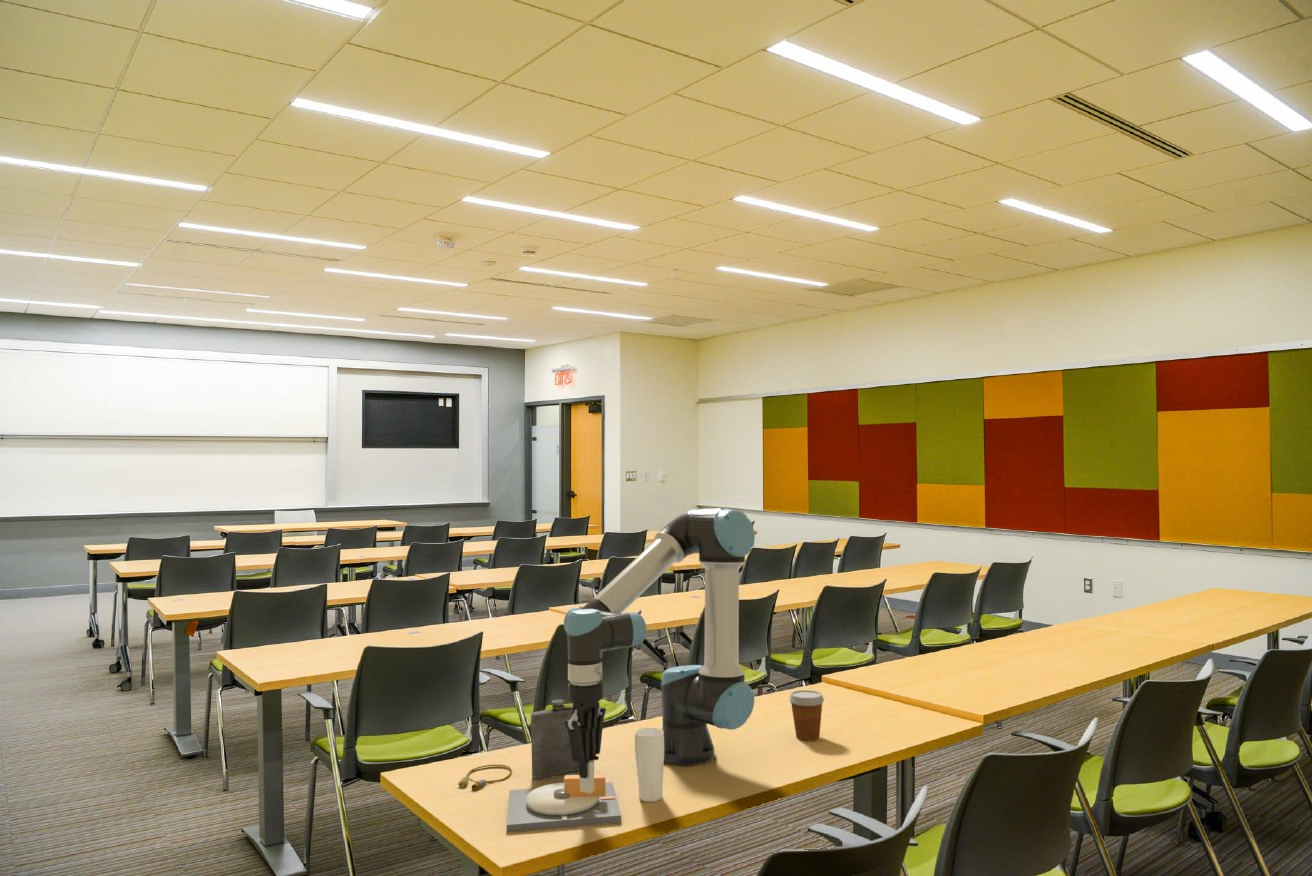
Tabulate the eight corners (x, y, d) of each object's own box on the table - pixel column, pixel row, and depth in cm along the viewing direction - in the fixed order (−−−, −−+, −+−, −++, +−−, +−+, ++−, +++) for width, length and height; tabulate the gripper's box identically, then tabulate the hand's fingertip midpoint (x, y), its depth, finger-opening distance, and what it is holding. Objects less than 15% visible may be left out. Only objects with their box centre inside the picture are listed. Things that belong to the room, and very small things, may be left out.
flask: (529, 776, 208) (528, 703, 209) (584, 766, 214) (582, 695, 215) (534, 781, 204) (532, 706, 205) (589, 771, 211) (587, 698, 212)
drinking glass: (629, 799, 191) (628, 732, 192) (651, 791, 196) (649, 725, 197) (650, 806, 187) (648, 738, 187) (671, 798, 191) (670, 731, 192)
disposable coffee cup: (789, 742, 230) (787, 697, 230) (791, 731, 239) (790, 689, 240) (824, 744, 227) (823, 699, 228) (825, 733, 237) (824, 690, 237)
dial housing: (612, 788, 198) (612, 781, 198) (621, 822, 178) (621, 814, 178) (509, 796, 195) (509, 789, 195) (506, 832, 175) (506, 824, 175)
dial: (521, 816, 179) (520, 791, 179) (532, 788, 195) (531, 765, 195) (603, 814, 179) (602, 789, 179) (607, 786, 195) (607, 763, 195)
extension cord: (442, 783, 206) (442, 774, 206) (495, 766, 218) (495, 758, 218) (471, 794, 198) (471, 786, 198) (524, 776, 209) (524, 768, 209)
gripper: (583, 690, 177) (584, 804, 175) (615, 677, 188) (617, 784, 187) (553, 686, 180) (555, 798, 179) (587, 673, 192) (589, 779, 191)
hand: (587, 791), depth 183 cm, fingers closed
